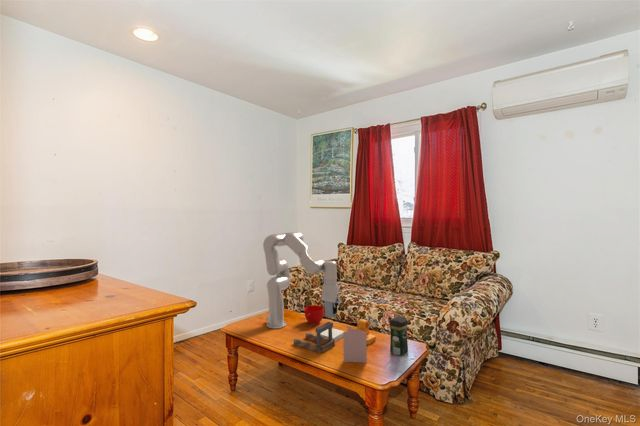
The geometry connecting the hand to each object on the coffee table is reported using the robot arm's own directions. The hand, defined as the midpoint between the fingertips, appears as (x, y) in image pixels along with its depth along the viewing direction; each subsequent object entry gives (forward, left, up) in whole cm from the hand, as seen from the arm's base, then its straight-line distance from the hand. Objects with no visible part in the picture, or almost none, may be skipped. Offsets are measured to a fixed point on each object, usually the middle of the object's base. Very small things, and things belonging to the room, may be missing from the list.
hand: (331, 312), depth 190 cm
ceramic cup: (-22, +10, -15) cm, 28 cm away
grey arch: (+6, -15, -11) cm, 20 cm away
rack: (-1, -15, -15) cm, 21 cm away
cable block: (0, 0, -2) cm, 2 cm away
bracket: (+20, +6, -15) cm, 25 cm away
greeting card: (+27, -18, -15) cm, 36 cm away
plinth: (0, 0, -15) cm, 15 cm away
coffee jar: (+41, +4, -15) cm, 44 cm away
